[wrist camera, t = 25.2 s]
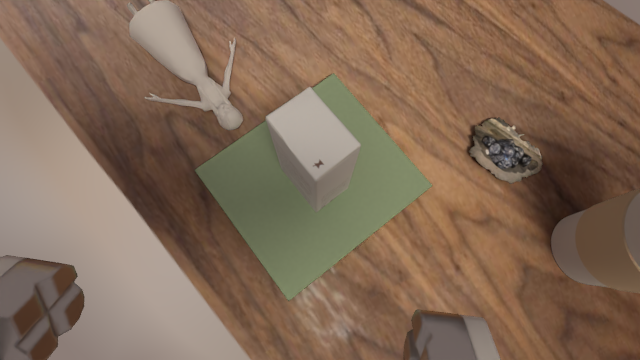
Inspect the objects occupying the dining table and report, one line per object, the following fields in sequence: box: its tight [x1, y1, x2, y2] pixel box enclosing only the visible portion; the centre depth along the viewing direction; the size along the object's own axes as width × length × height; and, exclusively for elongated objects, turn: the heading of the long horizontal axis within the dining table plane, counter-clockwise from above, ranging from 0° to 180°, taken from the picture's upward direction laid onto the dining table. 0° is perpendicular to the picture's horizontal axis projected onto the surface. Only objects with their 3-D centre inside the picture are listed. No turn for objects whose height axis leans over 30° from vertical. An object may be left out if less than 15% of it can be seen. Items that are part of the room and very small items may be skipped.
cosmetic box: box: [265, 87, 361, 212], centre depth 31 cm, size 6×4×12 cm
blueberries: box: [469, 117, 543, 184], centre depth 38 cm, size 7×8×2 cm
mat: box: [195, 73, 432, 301], centre depth 37 cm, size 18×16×1 cm
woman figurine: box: [127, 0, 243, 130], centre depth 39 cm, size 12×4×18 cm
